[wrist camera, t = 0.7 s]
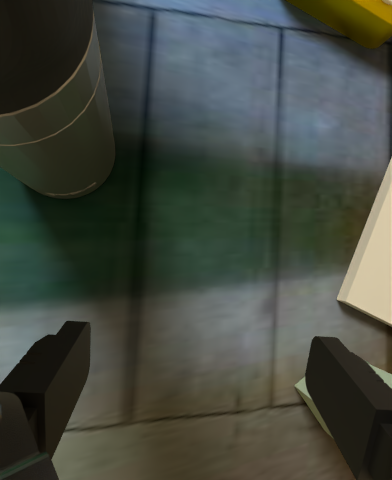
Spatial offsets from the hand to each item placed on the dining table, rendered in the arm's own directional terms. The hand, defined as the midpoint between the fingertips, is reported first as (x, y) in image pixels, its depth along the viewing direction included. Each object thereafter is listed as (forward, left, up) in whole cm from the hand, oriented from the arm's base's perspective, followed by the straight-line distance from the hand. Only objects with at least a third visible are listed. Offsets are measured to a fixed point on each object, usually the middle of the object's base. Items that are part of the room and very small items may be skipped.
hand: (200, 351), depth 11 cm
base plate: (+5, +31, -19) cm, 37 cm away
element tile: (-30, +30, -20) cm, 47 cm away
